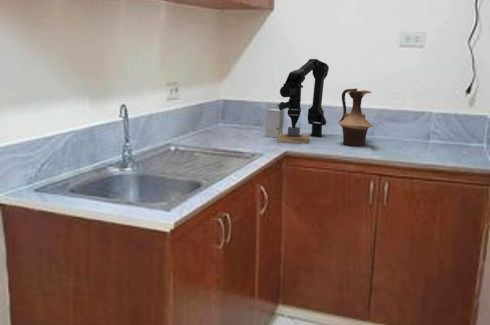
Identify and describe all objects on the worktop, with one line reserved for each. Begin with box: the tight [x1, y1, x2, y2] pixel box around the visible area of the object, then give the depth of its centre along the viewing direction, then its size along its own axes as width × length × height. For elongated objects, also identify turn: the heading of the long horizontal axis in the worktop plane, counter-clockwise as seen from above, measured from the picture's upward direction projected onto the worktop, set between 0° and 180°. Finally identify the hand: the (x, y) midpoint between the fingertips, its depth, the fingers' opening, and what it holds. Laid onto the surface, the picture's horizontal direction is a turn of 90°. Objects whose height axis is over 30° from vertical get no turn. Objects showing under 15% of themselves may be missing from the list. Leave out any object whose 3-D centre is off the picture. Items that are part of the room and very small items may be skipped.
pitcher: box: [337, 88, 374, 147], centre depth 251 cm, size 18×17×28 cm
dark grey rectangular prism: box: [287, 126, 301, 137], centre depth 261 cm, size 4×6×7 cm, turn 82°
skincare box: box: [264, 108, 285, 138], centre depth 273 cm, size 8×6×15 cm
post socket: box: [276, 132, 310, 144], centre depth 261 cm, size 14×16×2 cm
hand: (293, 127), depth 260 cm, fingers open, 9 cm apart
